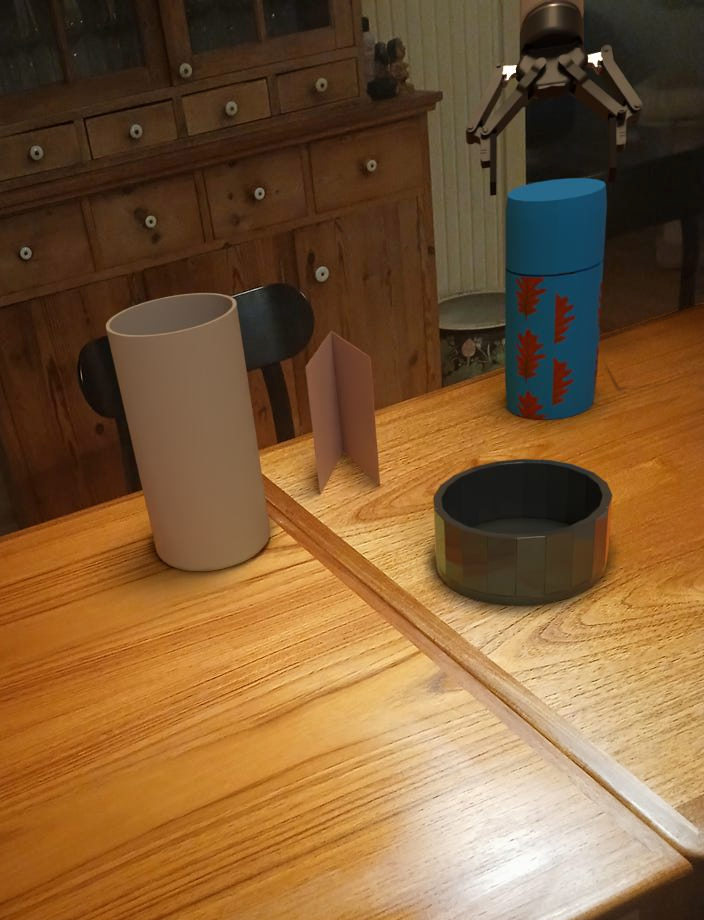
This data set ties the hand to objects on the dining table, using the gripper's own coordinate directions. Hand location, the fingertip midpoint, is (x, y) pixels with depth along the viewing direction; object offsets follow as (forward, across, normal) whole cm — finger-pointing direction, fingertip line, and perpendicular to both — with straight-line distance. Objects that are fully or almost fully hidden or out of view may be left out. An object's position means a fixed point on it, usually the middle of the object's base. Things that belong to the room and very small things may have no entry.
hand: (551, 182), depth 118 cm
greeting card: (+36, +22, +3) cm, 43 cm away
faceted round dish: (+51, +4, +18) cm, 54 cm away
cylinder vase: (+48, +36, +14) cm, 61 cm away
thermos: (+24, 0, -10) cm, 26 cm away
